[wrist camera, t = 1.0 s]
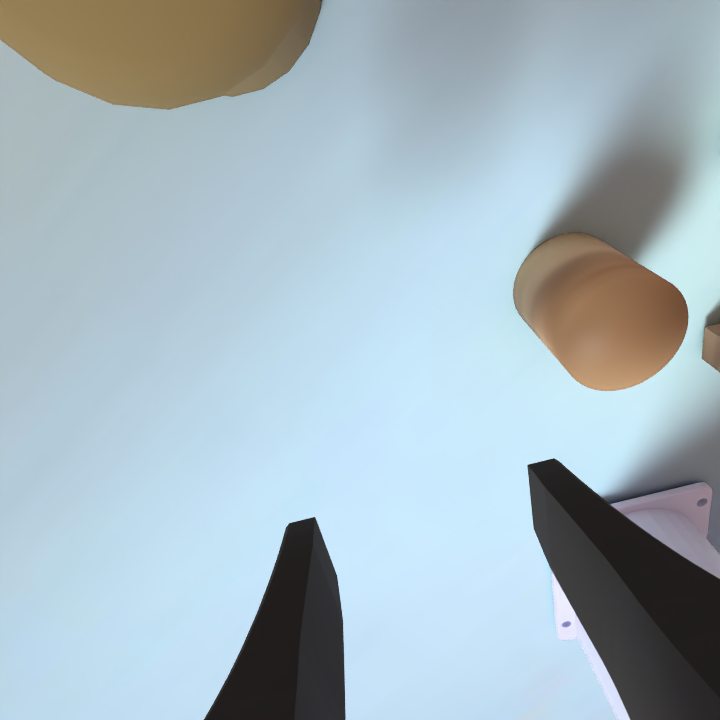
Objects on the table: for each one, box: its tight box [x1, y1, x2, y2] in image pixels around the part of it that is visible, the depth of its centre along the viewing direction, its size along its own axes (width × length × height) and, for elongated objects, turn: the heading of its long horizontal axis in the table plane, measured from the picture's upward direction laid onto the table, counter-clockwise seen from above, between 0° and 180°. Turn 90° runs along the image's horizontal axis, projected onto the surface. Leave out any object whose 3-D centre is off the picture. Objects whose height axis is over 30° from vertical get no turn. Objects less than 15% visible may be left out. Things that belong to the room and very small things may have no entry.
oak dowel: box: [513, 233, 688, 391], centre depth 19 cm, size 4×4×4 cm
